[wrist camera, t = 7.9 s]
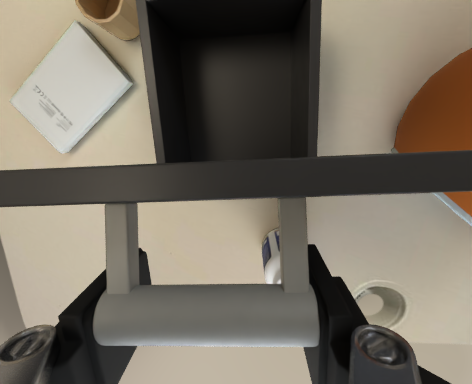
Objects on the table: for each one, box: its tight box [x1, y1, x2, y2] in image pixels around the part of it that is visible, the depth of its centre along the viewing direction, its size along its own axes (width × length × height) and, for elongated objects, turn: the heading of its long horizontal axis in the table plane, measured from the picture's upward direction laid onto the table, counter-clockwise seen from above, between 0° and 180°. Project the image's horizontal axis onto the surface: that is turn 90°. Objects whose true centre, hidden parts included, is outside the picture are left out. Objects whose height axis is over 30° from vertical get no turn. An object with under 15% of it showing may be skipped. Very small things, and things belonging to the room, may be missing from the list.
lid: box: [0, 150, 472, 347], centre depth 13 cm, size 16×14×5 cm
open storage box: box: [135, 0, 322, 164], centre depth 25 cm, size 16×14×10 cm
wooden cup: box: [75, 0, 140, 40], centre depth 25 cm, size 5×5×5 cm
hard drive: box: [9, 20, 134, 153], centre depth 29 cm, size 2×8×12 cm
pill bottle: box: [262, 228, 281, 284], centre depth 29 cm, size 5×5×10 cm
